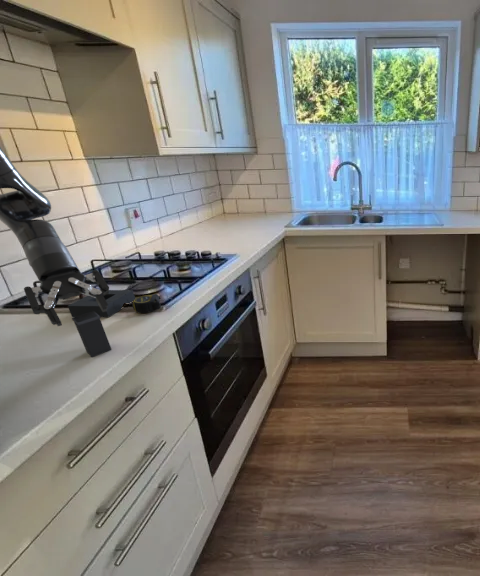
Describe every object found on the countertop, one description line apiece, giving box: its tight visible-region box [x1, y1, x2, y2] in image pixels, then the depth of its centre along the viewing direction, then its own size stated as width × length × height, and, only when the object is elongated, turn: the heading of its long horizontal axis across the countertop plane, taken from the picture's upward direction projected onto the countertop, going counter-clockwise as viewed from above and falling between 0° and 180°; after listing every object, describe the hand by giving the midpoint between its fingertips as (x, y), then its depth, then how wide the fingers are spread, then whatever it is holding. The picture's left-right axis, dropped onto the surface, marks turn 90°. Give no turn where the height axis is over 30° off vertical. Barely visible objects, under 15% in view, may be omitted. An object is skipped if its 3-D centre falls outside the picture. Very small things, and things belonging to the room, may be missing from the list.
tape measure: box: [131, 293, 161, 314], centre depth 104 cm, size 7×7×4 cm
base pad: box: [67, 289, 136, 318], centre depth 106 cm, size 11×11×4 cm
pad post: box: [71, 311, 113, 358], centre depth 83 cm, size 4×4×9 cm
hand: (83, 317), depth 83 cm, fingers open, 8 cm apart
